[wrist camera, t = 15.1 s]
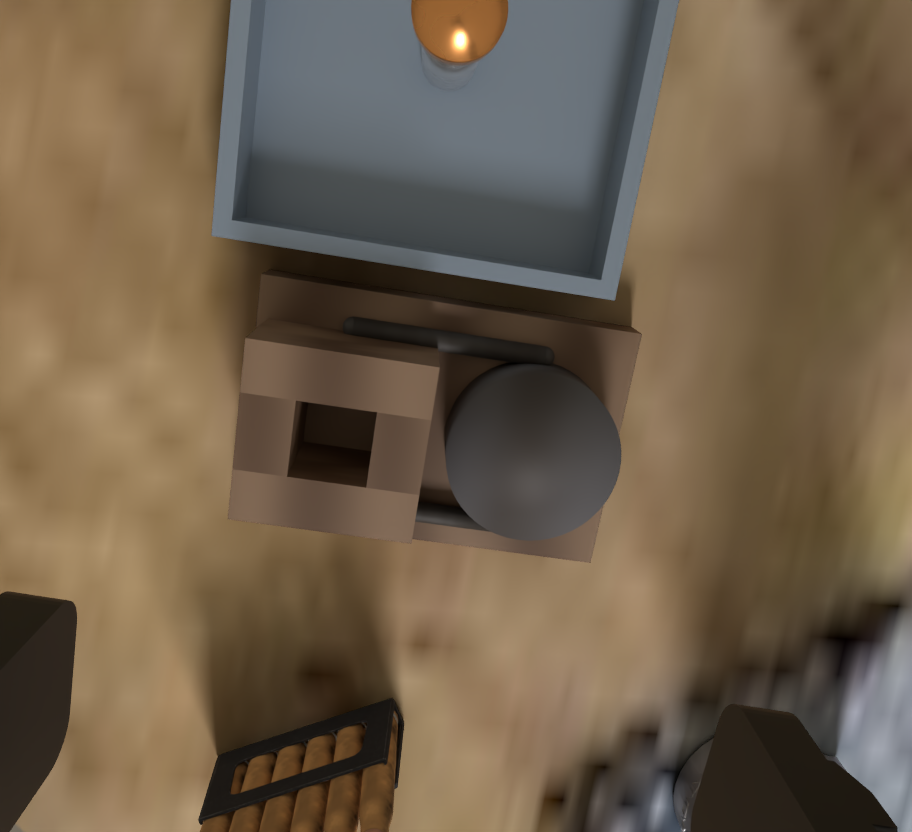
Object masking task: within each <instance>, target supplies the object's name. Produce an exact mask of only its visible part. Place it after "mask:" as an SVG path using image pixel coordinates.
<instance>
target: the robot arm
mask: <svg viewBox="0 0 912 832" xmlns="http://www.w3.org/2000/svg"><path fill="white" fill-rule="evenodd" d="M76 627H77V611H76V607H75V604H74V603H73V602H72V601H68V600H62V599H55V598H49V597H42V596H35V595H29V594H22V593H16V592H4V593H2V594H1V595H0V832H9V831H10V830H11V829H12V827H13V826H14V825H15V823H16V822H17V820H18V819H19V817H20V816H21V814H22V813H23V811H24V810H25V808H26V807H27V805H28V804H29V803H30V801H31V800H32V798H33V797H34V795H35V794H36V792H37V791H38V789H39V788H40V786H41V785H42V783H43V782H44V781H45V779H46V778H47V776H48V775H49V773H50V771H51V770H52V768H53V766H54V764H55V762H56V760H57V758H58V756H59V753H60V751H61V748H62V745H63V742H64V739H65V735H66V731H67V727H68V722H69V715H70V704H71V691H72V678H73V665H74V652H75V640H76ZM673 801H674V811H675V814H676V817H677V819H678V822H679V825H680V827H681V830H682V832H897V826H896V825H895V824H894V822H893V821H892V819H891V818H890V817H889V815H888V814H887V813H886V811H885V810H884V809H883V807H882V806H881V804H880V803H879V802H878V800H877V799H876V798H875V796H874V795H873V794H872V793H871V792H870V791H869V790H868V789H867V788H866V787H864V786H863V785H862V784H861V783H860V782H858V781H857V780H856V779H855V778H854V777H852V776H851V775H850V774H849V773H848V772H847V771H846V770H845V768H844V767H843V766H842V764H841V763H840V762H839V760H838V759H837V757H834V756H826V755H823V753H822V752H821V751H820V749H819V748H818V746H817V745H816V743H815V742H814V741H813V739H812V738H811V736H810V735H809V733H808V732H807V730H806V729H805V728H804V726H803V725H802V723H801V722H800V720H799V719H798V718H797V717H796V716H795V715H794V714H792V713H789V712H783V711H776V710H770V709H763V708H757V707H750V706H744V705H737V704H731V705H729V706H727V707H726V708H725V710H724V711H723V713H722V715H721V717H720V719H719V722H718V725H717V729H716V732H715V735H714V738H713V739H711V740H710V741H708V742H707V743H706V744H704V745H703V746H701V747H700V748H699V749H698V750H697V751H696V752H695V753H694V754H693V755H692V756H691V757H690V758H689V759H688V761H687V762H686V764H685V765H684V767H683V768H682V769H681V771H680V774H679V776H678V779H677V781H676V784H675V789H674V796H673Z"/></svg>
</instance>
